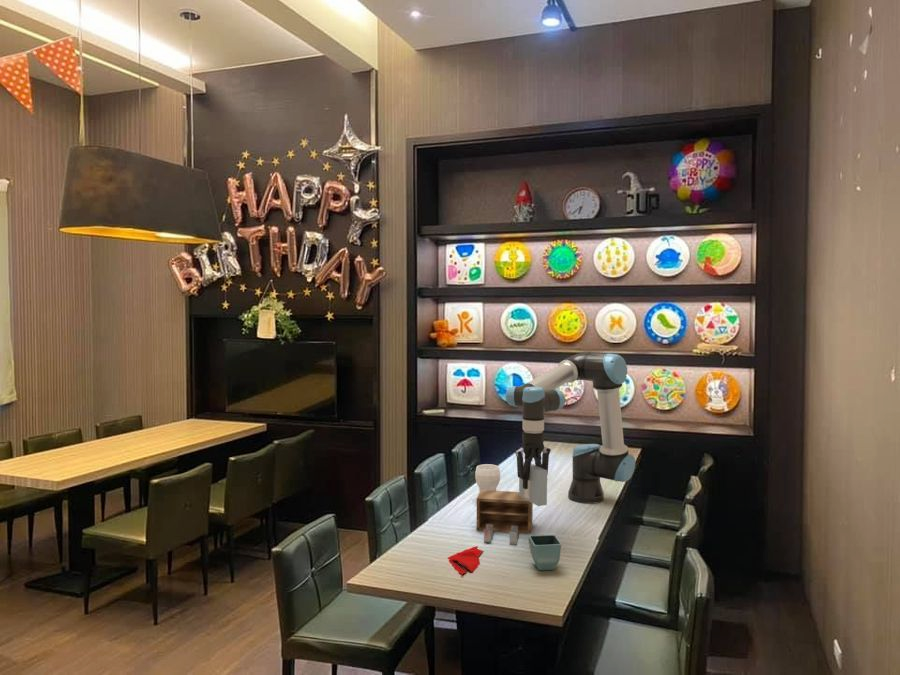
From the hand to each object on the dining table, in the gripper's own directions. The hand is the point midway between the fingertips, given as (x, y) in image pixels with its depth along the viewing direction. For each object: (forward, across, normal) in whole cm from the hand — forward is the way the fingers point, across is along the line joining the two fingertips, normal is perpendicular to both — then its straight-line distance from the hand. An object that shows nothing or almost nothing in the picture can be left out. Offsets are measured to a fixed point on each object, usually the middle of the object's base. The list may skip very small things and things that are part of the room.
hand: (532, 496), depth 232 cm
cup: (+16, -6, -46) cm, 49 cm away
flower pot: (+16, +8, +21) cm, 28 cm away
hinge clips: (+16, +8, -7) cm, 19 cm away
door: (+1, 0, 0) cm, 1 cm away
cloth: (+17, +28, +6) cm, 34 cm away
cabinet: (+16, +2, -17) cm, 23 cm away
